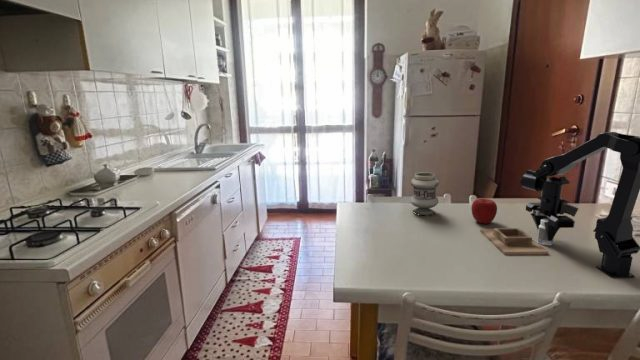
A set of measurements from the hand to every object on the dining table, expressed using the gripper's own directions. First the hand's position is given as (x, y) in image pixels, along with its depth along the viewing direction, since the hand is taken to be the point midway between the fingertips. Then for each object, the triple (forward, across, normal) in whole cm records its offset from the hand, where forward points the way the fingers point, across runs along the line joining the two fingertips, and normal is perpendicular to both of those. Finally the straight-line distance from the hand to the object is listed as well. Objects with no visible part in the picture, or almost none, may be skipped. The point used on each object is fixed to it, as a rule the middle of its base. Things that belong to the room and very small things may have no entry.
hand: (545, 237), depth 122 cm
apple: (+2, +21, +13) cm, 25 cm away
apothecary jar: (+2, +34, +34) cm, 48 cm away
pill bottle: (+2, 0, 0) cm, 2 cm away
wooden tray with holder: (+2, +1, +11) cm, 11 cm away
